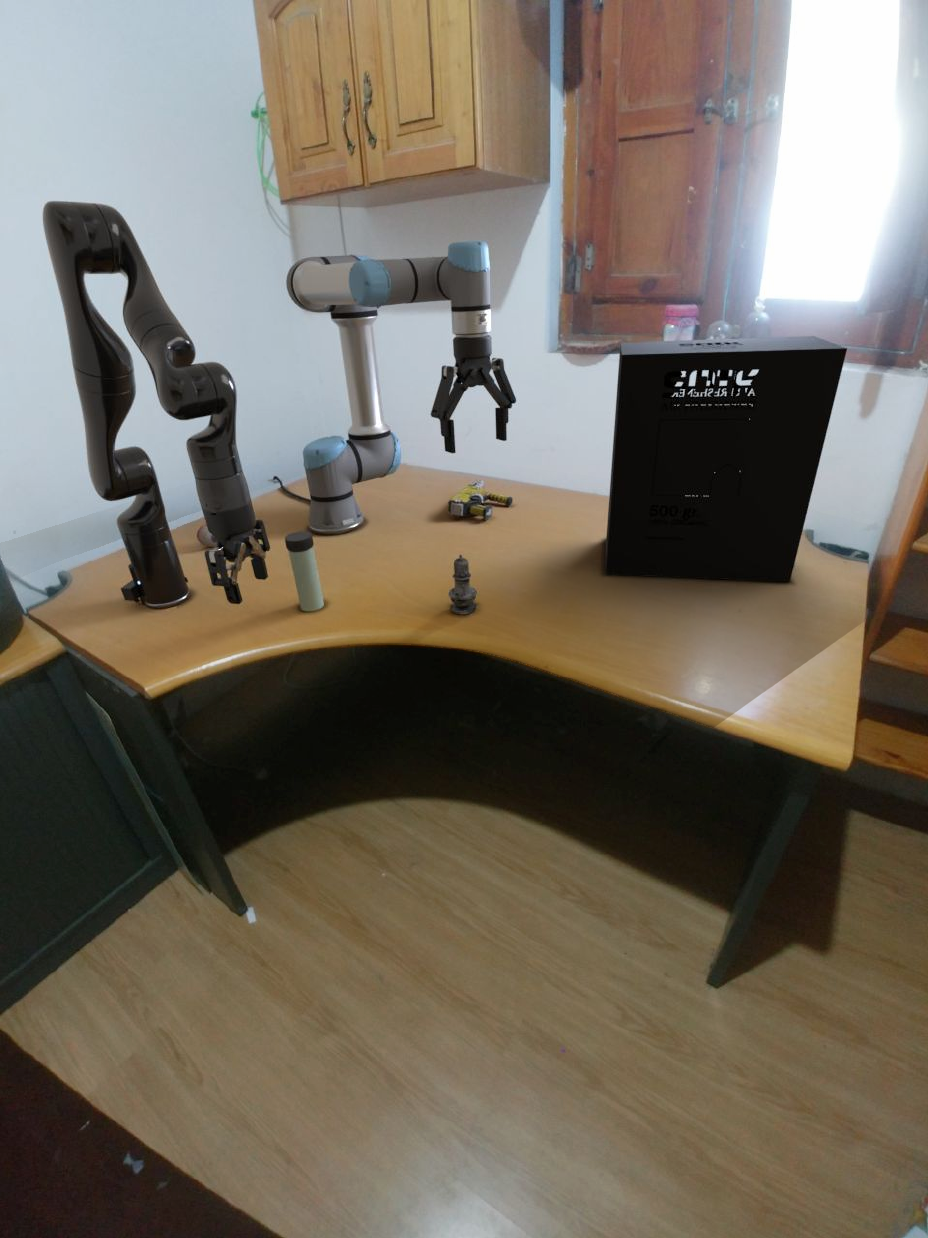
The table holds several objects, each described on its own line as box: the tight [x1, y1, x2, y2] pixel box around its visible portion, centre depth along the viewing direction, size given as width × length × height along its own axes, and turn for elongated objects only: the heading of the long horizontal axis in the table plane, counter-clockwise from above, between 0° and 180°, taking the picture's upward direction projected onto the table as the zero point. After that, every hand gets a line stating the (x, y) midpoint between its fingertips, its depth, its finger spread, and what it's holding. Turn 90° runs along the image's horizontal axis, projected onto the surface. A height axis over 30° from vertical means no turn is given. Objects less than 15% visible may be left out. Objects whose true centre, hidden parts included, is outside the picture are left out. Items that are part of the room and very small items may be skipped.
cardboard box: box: [605, 335, 848, 583], centre depth 127 cm, size 38×20×45 cm, turn 78°
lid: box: [284, 530, 314, 552], centre depth 121 cm, size 5×5×2 cm
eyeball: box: [196, 524, 217, 548], centre depth 159 cm, size 6×6×6 cm
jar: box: [287, 546, 325, 612], centre depth 124 cm, size 5×5×16 cm
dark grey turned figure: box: [448, 554, 478, 615], centre depth 121 cm, size 6×6×12 cm
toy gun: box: [447, 479, 514, 521], centre depth 175 cm, size 5×24×15 cm
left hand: (249, 590), depth 103 cm, fingers open, 8 cm apart
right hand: (476, 445), depth 127 cm, fingers open, 13 cm apart
